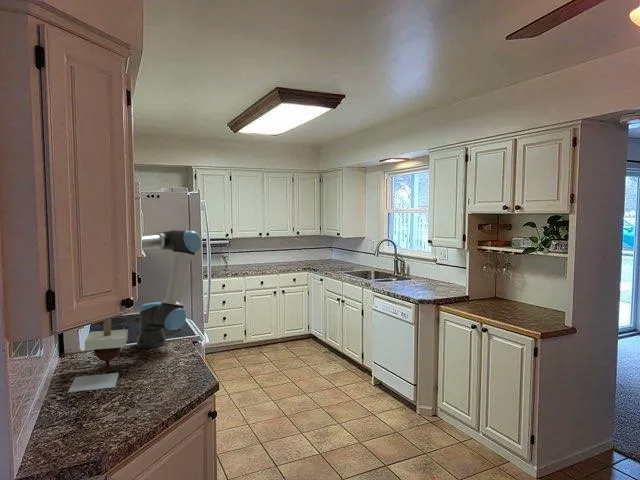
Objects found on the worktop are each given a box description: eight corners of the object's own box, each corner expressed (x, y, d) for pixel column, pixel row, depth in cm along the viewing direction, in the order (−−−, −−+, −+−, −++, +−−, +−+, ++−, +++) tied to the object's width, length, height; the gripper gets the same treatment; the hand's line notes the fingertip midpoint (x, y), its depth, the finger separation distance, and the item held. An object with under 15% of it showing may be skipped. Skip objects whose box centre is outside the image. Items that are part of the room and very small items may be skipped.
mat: (119, 373, 190) (119, 372, 190) (115, 388, 174) (115, 386, 174) (75, 378, 184) (75, 376, 184) (67, 393, 169) (67, 392, 169)
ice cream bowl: (110, 374, 190) (110, 341, 189) (88, 372, 192) (88, 339, 191) (125, 366, 200) (125, 334, 199) (104, 364, 202) (104, 333, 202)
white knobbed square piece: (127, 337, 206) (127, 310, 205) (125, 347, 191) (124, 318, 190) (90, 340, 200) (90, 312, 199) (84, 350, 185) (84, 320, 184)
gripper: (73, 271, 186) (74, 319, 187) (136, 270, 195) (136, 316, 196) (77, 269, 193) (77, 316, 194) (137, 268, 202) (137, 312, 203)
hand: (107, 316), depth 195 cm, fingers open, 13 cm apart
